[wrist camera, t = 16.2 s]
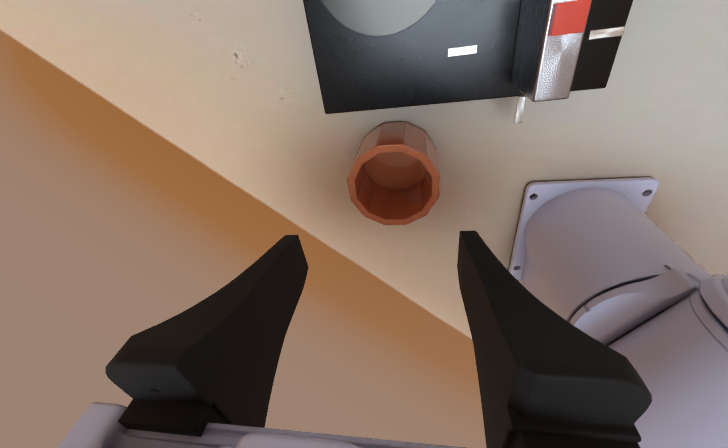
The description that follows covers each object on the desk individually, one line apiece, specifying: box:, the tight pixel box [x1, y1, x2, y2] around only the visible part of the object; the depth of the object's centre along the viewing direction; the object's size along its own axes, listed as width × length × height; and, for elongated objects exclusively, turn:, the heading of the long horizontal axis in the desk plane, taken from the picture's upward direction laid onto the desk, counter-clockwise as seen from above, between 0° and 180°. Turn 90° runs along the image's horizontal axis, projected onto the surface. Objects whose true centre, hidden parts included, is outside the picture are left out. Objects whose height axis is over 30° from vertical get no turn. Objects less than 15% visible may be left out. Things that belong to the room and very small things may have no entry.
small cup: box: [347, 122, 440, 225], centre depth 20 cm, size 6×6×4 cm
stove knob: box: [511, 0, 592, 102], centre depth 13 cm, size 4×1×4 cm, turn 8°
